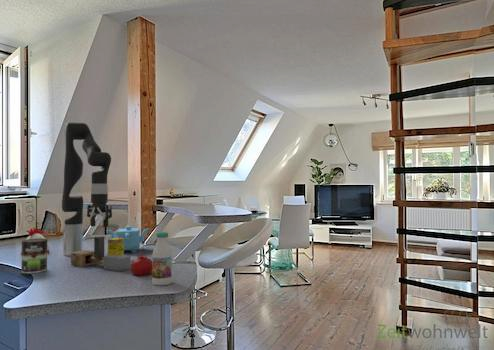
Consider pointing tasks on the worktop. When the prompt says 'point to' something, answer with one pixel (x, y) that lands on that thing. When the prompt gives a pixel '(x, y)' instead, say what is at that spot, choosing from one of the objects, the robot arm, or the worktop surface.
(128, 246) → the teakettle
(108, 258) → the sleeve
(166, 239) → the milk bottle
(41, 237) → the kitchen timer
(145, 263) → the pomegranate
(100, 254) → the rod
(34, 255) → the coffee can
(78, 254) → the socket block
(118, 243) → the supplement box
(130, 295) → the worktop surface
